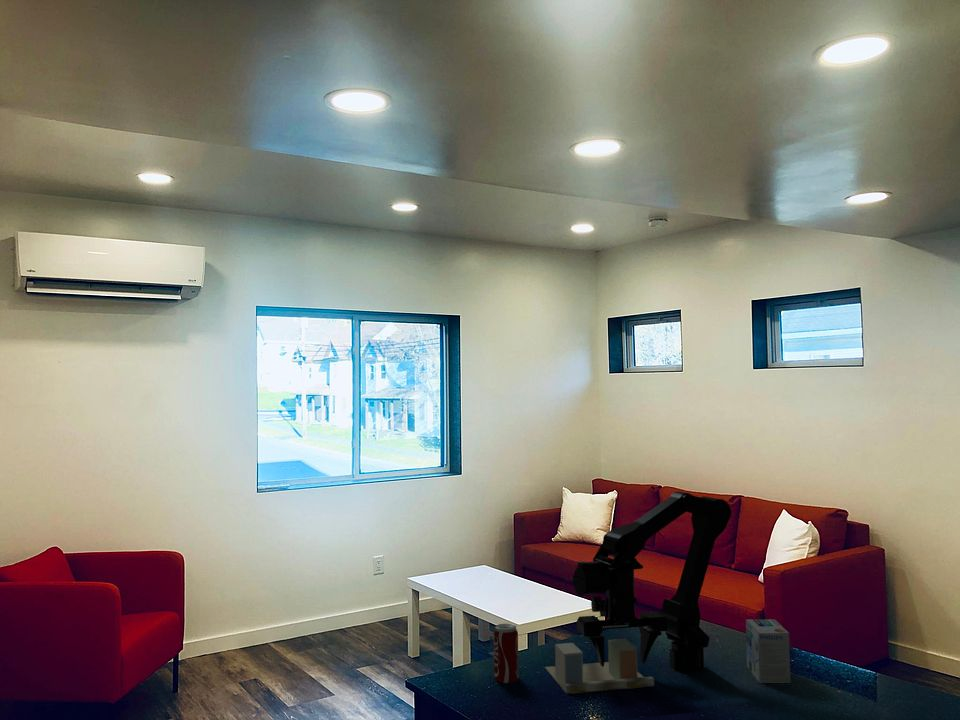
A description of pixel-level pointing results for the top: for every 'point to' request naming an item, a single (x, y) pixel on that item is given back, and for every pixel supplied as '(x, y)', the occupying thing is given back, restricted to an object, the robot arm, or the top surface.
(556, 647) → the cream carton
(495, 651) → the soda can
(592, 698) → the top surface
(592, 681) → the beige shallow tray
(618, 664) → the sage carton
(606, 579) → the robot arm
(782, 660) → the light bulb box
